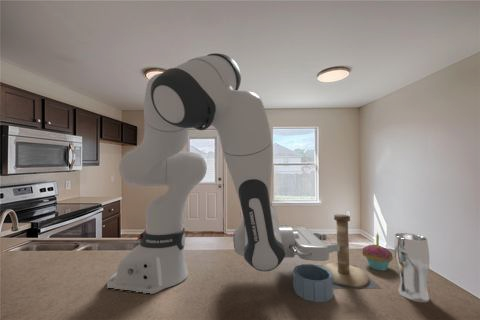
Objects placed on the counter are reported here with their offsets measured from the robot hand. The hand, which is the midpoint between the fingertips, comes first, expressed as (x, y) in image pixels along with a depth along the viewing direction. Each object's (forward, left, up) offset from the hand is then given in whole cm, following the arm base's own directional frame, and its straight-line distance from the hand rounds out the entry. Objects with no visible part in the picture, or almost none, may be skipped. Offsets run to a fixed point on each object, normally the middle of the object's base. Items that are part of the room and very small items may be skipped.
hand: (331, 241), depth 64 cm
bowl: (-8, -8, -11) cm, 16 cm away
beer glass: (+17, -10, -11) cm, 22 cm away
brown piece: (+4, 0, -10) cm, 11 cm away
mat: (+4, 0, -11) cm, 11 cm away
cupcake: (+18, +6, -11) cm, 21 cm away
